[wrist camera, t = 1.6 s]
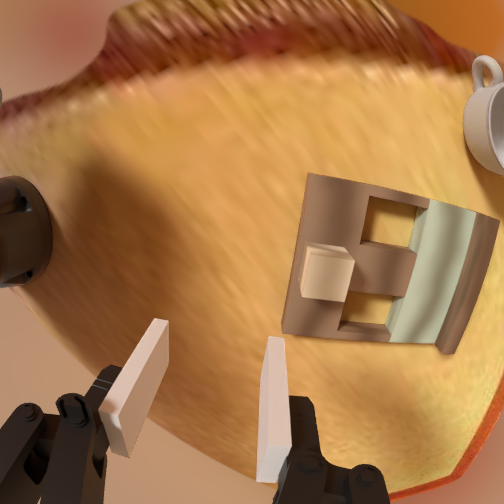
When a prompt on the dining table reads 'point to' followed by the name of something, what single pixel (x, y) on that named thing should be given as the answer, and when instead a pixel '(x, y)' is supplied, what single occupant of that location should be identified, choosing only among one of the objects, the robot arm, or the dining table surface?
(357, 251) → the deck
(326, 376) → the dining table surface
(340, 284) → the block
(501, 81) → the teacup
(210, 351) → the dining table surface
